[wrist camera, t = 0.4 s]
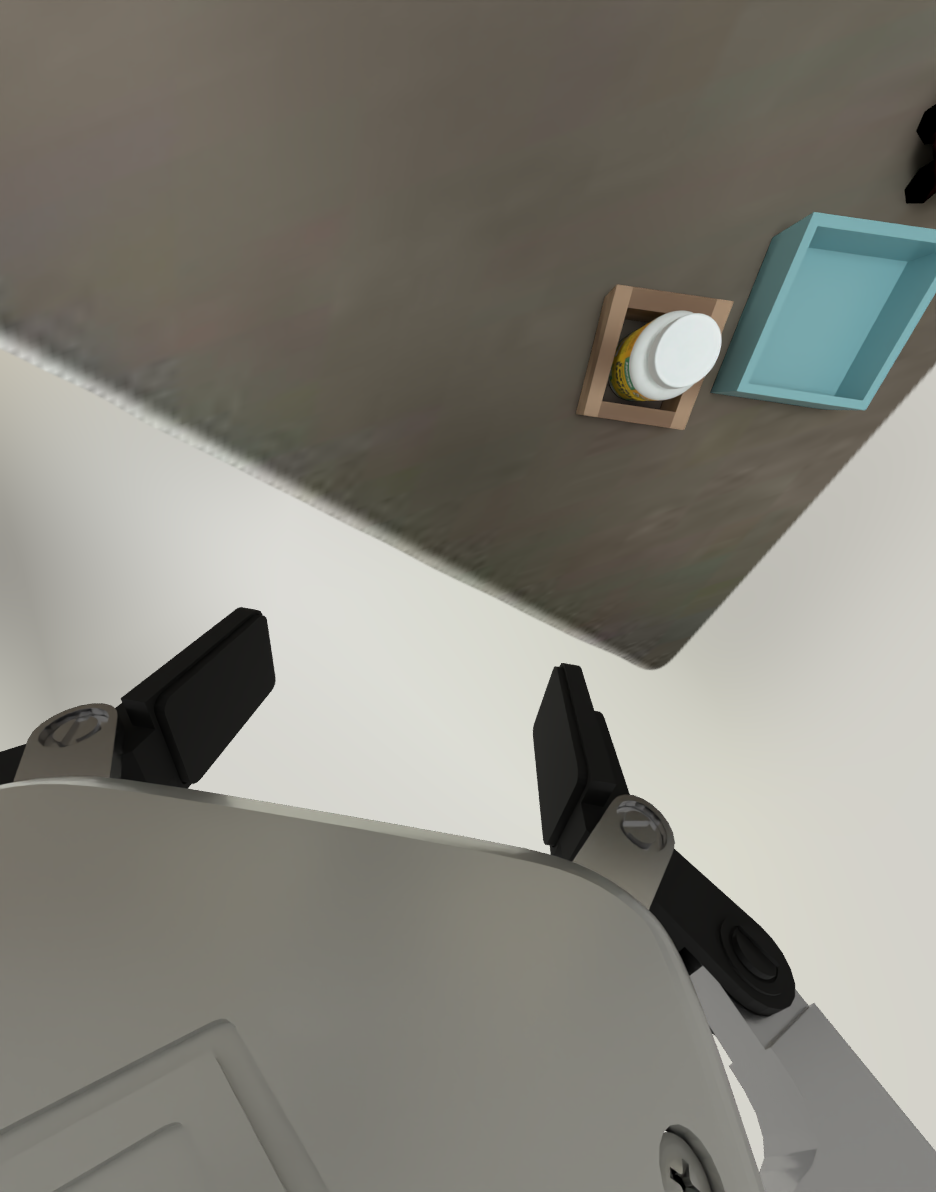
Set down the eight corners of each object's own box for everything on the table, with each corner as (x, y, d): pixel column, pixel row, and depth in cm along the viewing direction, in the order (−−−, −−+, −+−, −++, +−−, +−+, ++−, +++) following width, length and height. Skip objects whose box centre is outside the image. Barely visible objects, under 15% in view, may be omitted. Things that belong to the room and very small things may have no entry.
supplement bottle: (682, 367, 31) (751, 353, 22) (628, 415, 33) (671, 418, 24) (648, 312, 29) (708, 274, 21) (593, 366, 31) (627, 352, 23)
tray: (772, 237, 27) (814, 211, 23) (908, 257, 26) (970, 234, 23) (710, 392, 31) (736, 391, 28) (824, 409, 31) (865, 410, 28)
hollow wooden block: (604, 297, 29) (617, 284, 26) (709, 312, 29) (733, 301, 26) (575, 414, 33) (583, 415, 30) (667, 427, 33) (684, 430, 30)
